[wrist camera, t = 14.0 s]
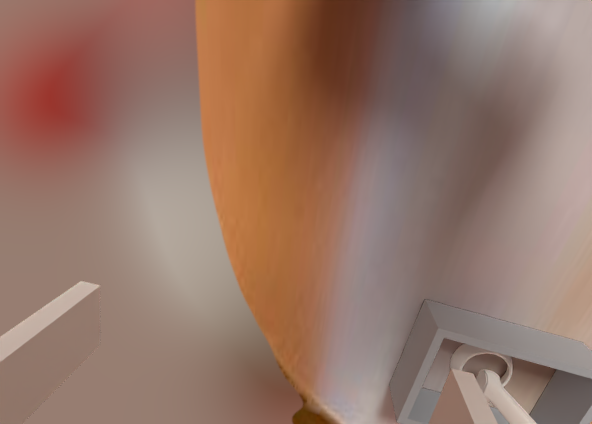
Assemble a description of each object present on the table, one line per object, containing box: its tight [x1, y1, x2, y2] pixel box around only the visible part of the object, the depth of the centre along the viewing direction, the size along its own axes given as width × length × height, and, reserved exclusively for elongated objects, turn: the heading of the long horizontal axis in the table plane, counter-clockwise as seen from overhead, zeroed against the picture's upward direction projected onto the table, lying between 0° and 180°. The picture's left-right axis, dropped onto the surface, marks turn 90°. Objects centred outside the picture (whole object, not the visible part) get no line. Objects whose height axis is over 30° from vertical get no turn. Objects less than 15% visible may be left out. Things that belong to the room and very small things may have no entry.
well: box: [389, 299, 592, 424], centre depth 42 cm, size 14×20×6 cm
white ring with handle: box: [450, 344, 537, 424], centre depth 42 cm, size 8×12×7 cm
